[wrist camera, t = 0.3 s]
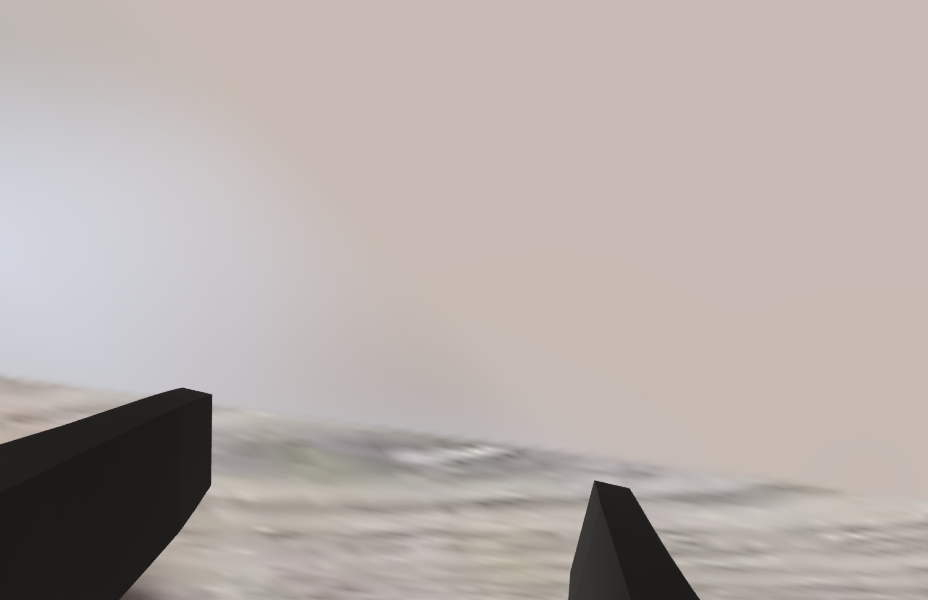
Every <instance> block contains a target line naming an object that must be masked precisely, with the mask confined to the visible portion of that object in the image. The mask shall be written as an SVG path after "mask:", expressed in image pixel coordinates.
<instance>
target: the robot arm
mask: <svg viewBox="0 0 928 600" xmlns="http://www.w3.org/2000/svg"><path fill="white" fill-rule="evenodd" d="M211 449H212V394H208V393H204V392H199V391H195V390H190V389H186V388H179V389H174V390H170V391H167V392H163V393H160V394H156V395H153V396H150V397H147V398H144V399H141V400H138V401H135V402H132V403H129V404H126V405H123V406H120V407H117V408H114V409H111V410H108V411H105V412H102V413H99V414H96V415H93V416H90V417H87V418H84V419H81V420H78V421H75V422H72V423H69V424H66V425H63V426H60V427H56V428H53V429H50V430H46V431H43V432H40V433H36V434H33V435H30V436H26V437H23V438H20V439H17V440H13V441H10V442H7V443H3V444H0V600H119V599H120V598H121V597H122V596H123V595H124V594H125V593H126V592H127V590H128V589H129V588H130V587H131V586H132V585H133V584H134V583H135V582H136V580H137V579H138V578H139V577H140V576H141V575H142V574H143V573H144V572H145V570H146V569H147V568H148V567H149V566H150V565H151V564H152V563H153V561H154V560H155V559H156V558H157V557H158V556H159V555H160V553H161V552H162V551H163V550H164V549H165V548H166V547H167V546H168V544H169V543H170V542H171V541H172V540H173V539H174V537H175V536H176V535H177V534H178V533H179V532H180V530H181V529H182V528H183V526H184V525H185V523H186V522H187V520H188V519H189V518H190V516H191V515H192V513H193V512H194V511H195V509H196V508H197V506H198V504H199V503H200V501H201V500H202V498H203V497H204V495H205V494H206V492H207V491H208V489H209V488H210V486H211ZM568 600H700V599H699V598H698V596H697V595H696V593H695V592H694V591H693V589H692V588H691V586H690V585H689V583H688V582H687V580H686V579H685V577H684V576H683V574H682V573H681V571H680V570H679V568H678V567H677V565H676V564H675V562H674V561H673V559H672V558H671V556H670V554H669V553H668V551H667V550H666V548H665V546H664V545H663V543H662V542H661V540H660V538H659V537H658V535H657V533H656V532H655V530H654V528H653V527H652V525H651V523H650V522H649V520H648V518H647V517H646V515H645V513H644V512H643V510H642V508H641V506H640V505H639V503H638V501H637V500H636V498H635V496H634V495H633V493H632V492H631V490H630V488H626V487H621V486H617V485H612V484H608V483H604V482H599V481H595V480H594V484H593V488H592V491H591V495H590V499H589V503H588V507H587V511H586V514H585V518H584V522H583V526H582V530H581V533H580V537H579V541H578V545H577V549H576V553H575V556H574V560H573V564H572V568H571V572H570V585H569V599H568Z"/></svg>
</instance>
